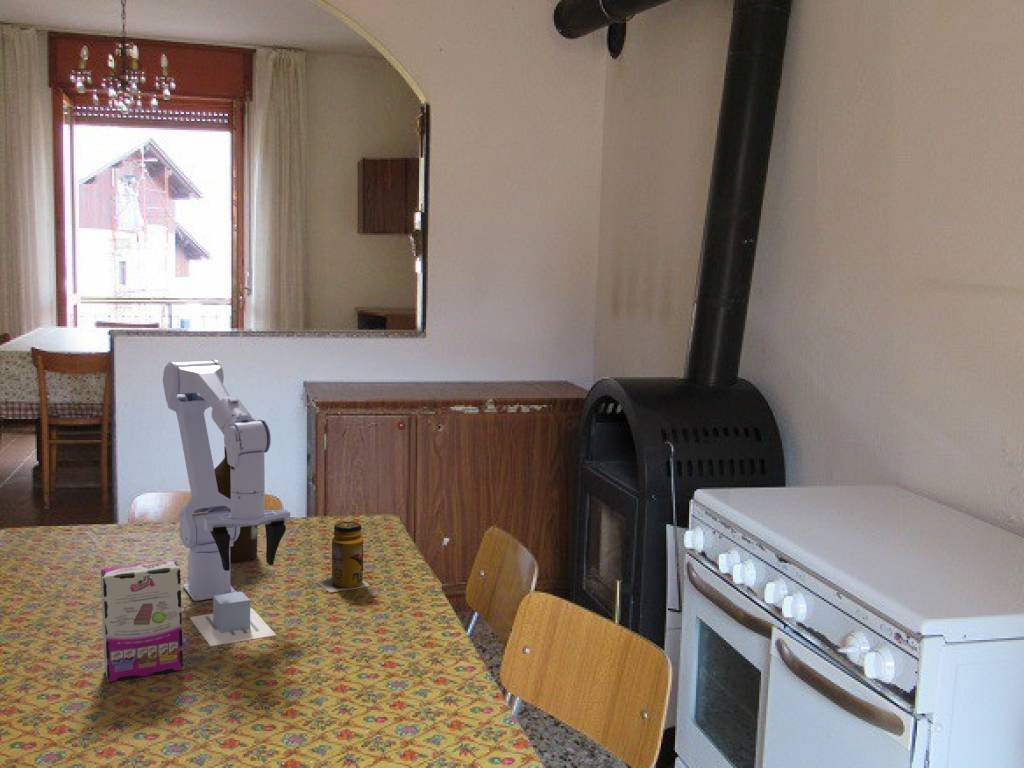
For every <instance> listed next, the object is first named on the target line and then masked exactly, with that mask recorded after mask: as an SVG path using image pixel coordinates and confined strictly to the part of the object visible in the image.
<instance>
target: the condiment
mask: <svg viewBox="0 0 1024 768" xmlns="http://www.w3.org/2000/svg"><path fill="white" fill-rule="evenodd" d="M333 530H334V532H333V535H334V536H333V537H332V539H331V578H329V579H323V580H321V579H320V580H319V579H318V580H315V583H316V584H317V585H319V586H320V587H321V588H323V589H324V590H326V591H327V592H329V593H331V594H332V593H336V592H341V591H347V590H348V591H349V590H356V589H361V588H368V587H370V586H371V584H369V583H368V582H366V581H364V538H363V536H362V525H361V523H359V522H357V521H340V522H337V523H336V524H334V526H333Z"/></svg>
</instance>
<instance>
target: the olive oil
mask: <svg viewBox="0 0 1024 768" xmlns="http://www.w3.org/2000/svg"><path fill="white" fill-rule="evenodd" d="M223 453H224V458H223V459H222V461H220V463H219V464H218V465H216V467H214V471H215V476H216V482H217V487H218V492H219V493H220V494H222V495H224V496H225V497H227V498H229V499H230V500H231V476H230V465H229V464H228V461H227V452H226V448H225V446H224V452H223ZM208 512H213V511H208ZM258 528H259V525H254V526H244V527H240V533H239V536H238V538H237V540H236V541H234V542H233V546H231V547H230V564H236V563H243V562H249V561H252V560H253V559H255V558H256V557H257V556H258Z"/></svg>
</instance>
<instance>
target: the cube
mask: <svg viewBox="0 0 1024 768" xmlns="http://www.w3.org/2000/svg"><path fill="white" fill-rule="evenodd" d="M250 608H251V599H249V597H248V596H247V595H246V594H245V593H244V592H243V591H236V592H235V593H228V594H222V595H215V596H213V599H212V611H213V612H212V614H213V624H214V625H215V626H216V627H217V629H218V630H219V631H220V632H221V633H224V632H231V631H237V630H243V629H249V628H250Z"/></svg>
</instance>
